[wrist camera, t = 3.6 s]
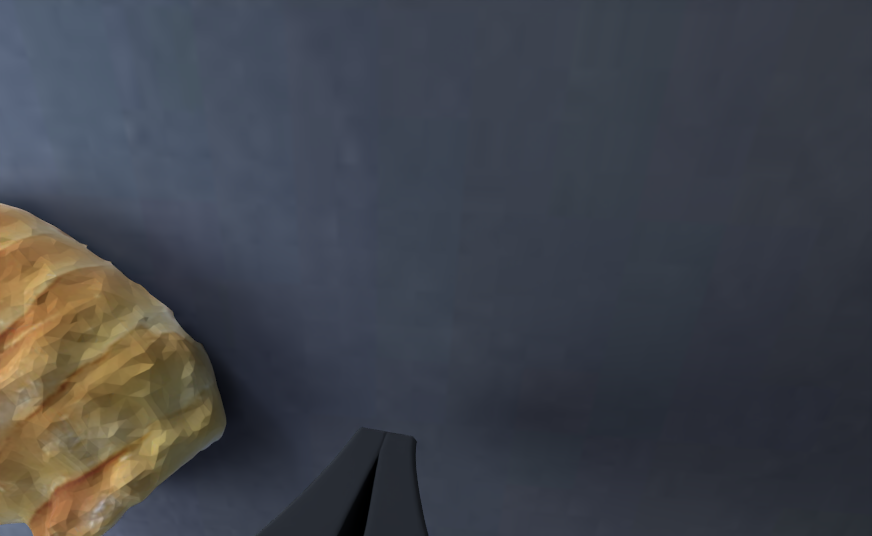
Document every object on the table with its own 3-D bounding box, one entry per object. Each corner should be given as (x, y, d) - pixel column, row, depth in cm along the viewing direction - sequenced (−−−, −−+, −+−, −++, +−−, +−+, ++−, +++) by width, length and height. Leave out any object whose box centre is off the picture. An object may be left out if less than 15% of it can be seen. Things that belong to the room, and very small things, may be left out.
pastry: (-114, 282, 13) (-342, 341, 9) (14, 125, 11) (-203, 122, 8) (132, 500, 15) (18, 622, 11) (274, 389, 13) (196, 490, 9)
